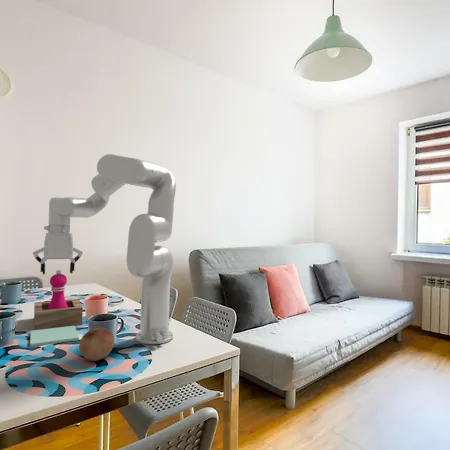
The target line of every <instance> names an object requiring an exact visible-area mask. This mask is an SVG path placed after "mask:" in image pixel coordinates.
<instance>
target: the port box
mask: <svg viewBox="0 0 450 450" xmlns="http://www.w3.org/2000/svg"><path fill="white" fill-rule="evenodd" d="M65 301H66V303H67V305H68V308H60V309H49V310H48V306H49V304H50V302H51V300H49V301H38V302H36V301H35V302H33V303H34V307H33V309H34V311H33V321H34V322H33V330H42V329H50V328H59V327H67V326H79V325H83V313H84V312H83V310H84V309H83V306H82V303H81V302H80V300H79V298H74V299H65Z"/></svg>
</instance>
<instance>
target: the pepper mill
mask: <svg viewBox="0 0 450 450" xmlns="http://www.w3.org/2000/svg"><path fill="white" fill-rule="evenodd" d="M67 282H68V279H67V276H66V275H65V274H62V271H61V270H60V269H57V270H56V272H55V274H53V275H52V276H51V277H50V279H49V284H50V285H51V287H50V288H51V289H50V291H51V292H52V293H51V294H52V295H51V300H50V301H51V302H50V304H49V306H48V310H49V309H60V308H68V305H67V303H66V301H65V300H66V297H65V291H66V286H65V285H66V284H67Z"/></svg>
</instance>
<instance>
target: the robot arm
mask: <svg viewBox="0 0 450 450" xmlns="http://www.w3.org/2000/svg"><path fill="white" fill-rule="evenodd" d="M96 171H97V174H96V176H94V177H93V178H92V180H91V187H92V189H93V191H94V193H93V194H92V195H90V196H88V197H86V198H85V197H75V196H74V197H71V196H67V197H66V196H65V197H57V196H56V197H51V198H50V199H49V202H48V203H49V204H48V206H49V207H48V225H45V226H43V227H44V228H43V230H44V231H47V232H46V233H45V236H44V241H43V242H44V244H43V247H41V248H39V249H37V250H35V251H33V252H32V255H33V256H34V258H35V260H36V261H37V262H39V263H40V273H42V275H46V263H45V262H46V261H47V260H70V263H69V273H70V274H73V272H75V267H76V266H75V265H76V264H75V263H76V262H77V261H79V259H81V256H82V255H83V251H82V250H79V249H78V248H75V247H74V239H73V233H72V232H71V218H90V217H93V216H95V215H96V214H98V213H100V212H101V211H102V210H104V209H105V208H106V207H107V205H108V203H109V201H110V196H112V195H113V194H115V193H116V192H117V191H118V190H120V189H121V188H123V187H124V186H125V185H126V184H127V185H131V186H135V187H142V188H149V189H152V192H151V194H150V197H149V199H148V203H147V204H148V207H147V213H141V214H138V215H136V216H135V217H134V218H133V219H132V220H131V222H130V226H129V230H128V236H127V237H128V238H127V247H126V248H127V249H126V251H127V252H126V266H127V269H128V271H129V273H130V274H131V275H132V276H133V277H136V278H139V279H140V278H142V282H141V289H140V291H141V293H140V297H141V299H140V328H139V329H140V331H139V332H137V333H136V334H135V341H136V342H137V343H140V344H144V345H161V344H164V343H168V342H170V341H172V340H173V339H174V333H173V332H172V331H171V330H169V329H170V326H169V325H170V297H171V296H170V294H171V293H170V292H171V276H172V272H173V266H174V257H173V254H172V252H171V251H170V249H168V248H167V247H166V246H162V245H156V243H161V242H165V241H168V240H169V239H170V238H171V235H172V232H173V221H174V211H175V197H176V191H177V183H176V178H175V176H174V175H173V173H172V172H171V171H170V170H169V169H167V168H166V167H164V166H161V165H159V164H157V163H153V162H150V161H145V160H142V159H139V158H138V159H137V158H134V157H133V158H132V157H128V156H123V155H117V154H113V153H107V154H105V155H102V156H101V157H100V159H98V161H97V164H96ZM41 253H43V257H40V256H39V254H41ZM74 253H77V255H76V256H75V257H74Z"/></svg>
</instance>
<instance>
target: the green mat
mask: <svg viewBox="0 0 450 450" xmlns="http://www.w3.org/2000/svg"><path fill="white" fill-rule="evenodd" d="M29 340H30V341H29V342H30V343H29V344H30V345H29V348H30V347H38V346H45V345H53V344H58V343H59V344H60V343H67V342H73V341H80V337H79V333H78V332H77V328H76V325H73V326H65V327H56V328H48V329H39V330H34V329H33V330H30V339H29Z"/></svg>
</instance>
